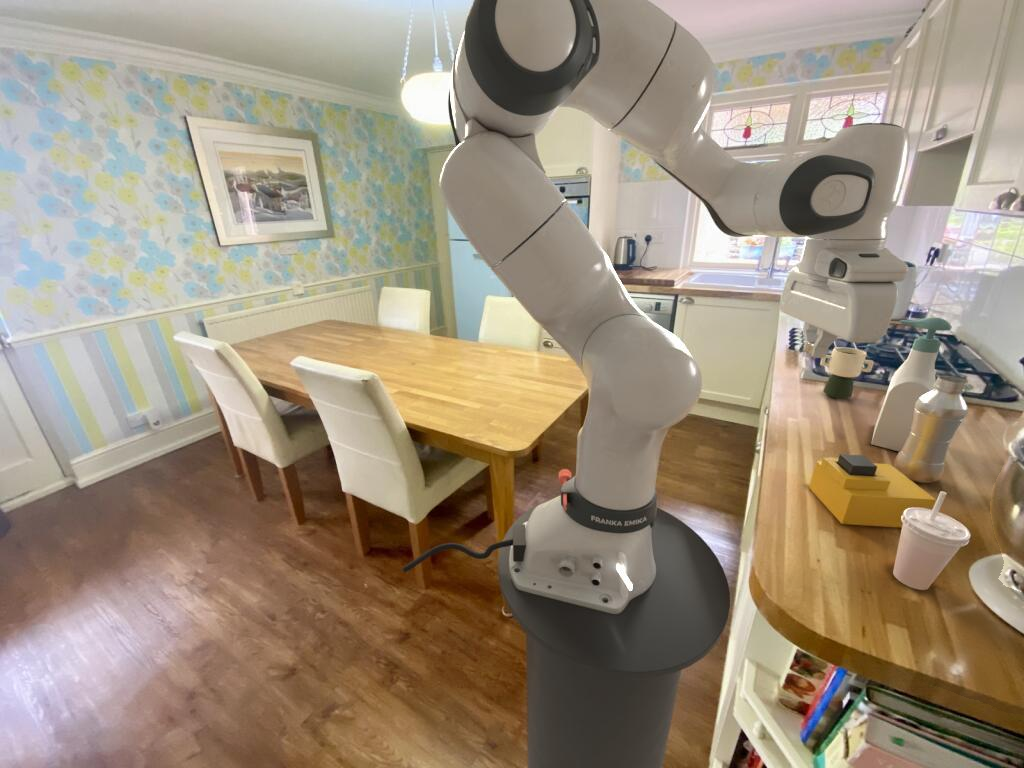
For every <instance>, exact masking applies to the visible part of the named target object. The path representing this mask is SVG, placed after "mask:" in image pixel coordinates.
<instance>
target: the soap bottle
mask: <svg viewBox="0 0 1024 768" xmlns="http://www.w3.org/2000/svg"><path fill="white" fill-rule="evenodd" d="M899 321H900V323H901V325H902V326H909V327H915V328H919V329H925V330H927V332H926V334H925V335H921V336H918V338H915V339H914V341H913V344H912V347H911V349H910V352H909V354H908V356H907V358H906V359H905V361H904V362H903V363H902V364H901V365H900V366H899V367H898V368H897V370H895V372H894V374H893V375H892V377H891V379H890V381H889V385H888V388H887V391H886V394H885V396H884V400H883V401H882V405H881V409H880V411H879V414H878V417H877V420H876V423H875V425H874V429H873V435H872V439H871V443H870V445H871V446H876V447H879V448H884V449H888V450H892V451H895V452H898V453H899V452H900V450H901V449H902V448H903V446H904V444H905V442H906V440H907V438H908V436H909V432H910V430H911V425H912V422H913V416H914V409H915V404H916V401H917V400H918V399H919V398H920V397H921V396H923V395H924V394H926V393H928V392H930V391H932V390H934V389H935V388H934V387H933V385H934V383H936V380H937V378H936V370H935V369H936V368H935V367H936V366H935V365H936V361H937V358H938V354H939V351H940V347H941V346H942V341H940V338H938V337H935V336H936V335H935V334H936V332H937V331H940V332H941V331H942V332H944V331H945V332H946V331H951V330H952V328H953V326H952V325H951V323H950V322H949V321H948V320H946V319H943V318H941V317H934V316H932V317H926V318H922V319H917V320H910V319H909V320H908V319H900V320H899Z"/></svg>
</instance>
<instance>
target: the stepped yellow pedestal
mask: <svg viewBox="0 0 1024 768" xmlns="http://www.w3.org/2000/svg"><path fill="white" fill-rule="evenodd" d="M838 459H839V457H822V460H816V461H815V464H814V467H813V472H812V475H811V478H810V482H809V485H808V489H810V490H811V491H812V493H813V494H814V495H815V496H816V497H817V499H819V501H820V502H822V504H823V506H825V508H827V510H829V512H830V513H831V514H832V515H833V516H834V517H835V518H836V519H837V520H838V522H839V523H840V524H841V525H851V526H853V525H854V526H867V527H868V526H870V527H886V528H901V529H902V526H903V522H902V520H901V516H902V515H903V513H904V511H905V510H906V509H908V508H925V509H929V510H933V508H934V505H935V503H936V501H937V499H936V498H935V497H933V496H932V495H931V494H929V493H928V492H927V491H925V490H924V489H923V488H922V487H920V486H919V485H918V484H916V483H915V481H913V480H910V479H909V478H907V477H906V476H905V475H903V474H902V473H901V472H899V471H898V470H897V469H896V468H895V467H894V465H892V464H891V463H877V462H876V463H875V462H872V463H873V464H875V465H876V466H877V469H876V472H875V475H874V476H854V475H849V474H848V473H847V472H846V471H844V470H843V469H842V468H841V467H840V466H839V465H838V464H837V462H838Z"/></svg>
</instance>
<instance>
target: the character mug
mask: <svg viewBox="0 0 1024 768" xmlns="http://www.w3.org/2000/svg"><path fill="white" fill-rule="evenodd" d="M867 356H868V355H867V352H866V351H864V350H862V349H858V348H853V347H847V346H846V347H845V346H837V347H834V348H833V349H832V350H831V354H827V355H826V357H824V358H820V363H819V365H820V366H821V367H827V371H828V372H829V373H830V376H829V377H828V379H827V381H826V383H825V385H824V388H823V390H822V392H823V393H824V394H826V395H827V396H829V397H832V398H834V399H851V397H852V396H853V392H854V391H853V390H854V382H855V380H854V378H857V377H859V376H860V375H861V373H862V372H863V373H864V372H865V373H871V371H872V370H873V367H874V363H875V361H874V360H872V359H866V357H867ZM827 359H829V361H828V363H827V362H826V360H827ZM865 364H867V367H864V365H865Z"/></svg>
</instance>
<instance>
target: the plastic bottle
mask: <svg viewBox="0 0 1024 768" xmlns="http://www.w3.org/2000/svg"><path fill="white" fill-rule="evenodd" d="M968 384H969V382H968V380H967V379H964V378H961V377H958V376H952V375H938V376H937V378H936V383H934V385H933V387H934V390H932V391H930V392H928V393H926V394H924V395H923V396H921V397H920V398H919V399H918V400H917V401H916V404H915V409H914V416H913V422H912V425H911V430H910V432H909V436H908V438H907V440H906V442H905V444H904V446H903V448H902V449H901V450H900V452H899V451H898V453H897V454H896V456H895V458H894V464H893V467H894V468H896V469H897V470H898V471H899V472H901V473H902V474H903V475H905V476H906V477H907V478H909V479H910V480H911V481H912V482H917V483H923V484H932V483H934V482H937V481H939V479H940V478H941V477H942V476H943V474H944V471H945V466H946V465H945V463H946V457H947V453H948V450H949V446H950V444H951V442H952V439H954V436H955V434H956V432H957V430H958V428H959V427H960V426H961V425H962V423H963V422H964V420H965V418H966V417H967V415H968V411H969V410H968V405H967V403H966V401H965V399H964V397H963V395H962V394H964V393H966V390H967V389H966V388H967V386H968Z"/></svg>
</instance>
